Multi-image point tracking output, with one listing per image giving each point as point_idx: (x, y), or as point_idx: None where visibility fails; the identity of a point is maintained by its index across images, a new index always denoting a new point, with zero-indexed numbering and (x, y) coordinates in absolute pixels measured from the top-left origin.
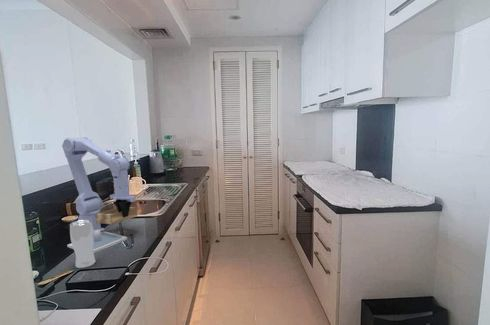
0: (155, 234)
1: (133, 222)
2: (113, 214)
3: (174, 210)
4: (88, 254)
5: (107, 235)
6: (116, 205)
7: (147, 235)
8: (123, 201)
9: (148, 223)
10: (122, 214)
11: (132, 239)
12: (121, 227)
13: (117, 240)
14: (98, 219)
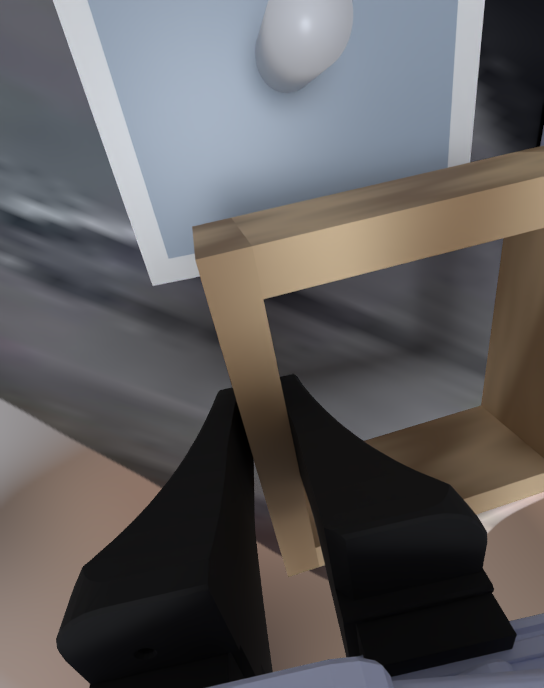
0: (99, 435)
1: None
2: (205, 290)
3: None
4: None
5: (335, 189)
6: (350, 473)
7: (122, 399)
8: (168, 661)
9: None
10: (230, 403)
11: (124, 303)
12: (446, 356)
13: (133, 194)
14: (541, 156)
